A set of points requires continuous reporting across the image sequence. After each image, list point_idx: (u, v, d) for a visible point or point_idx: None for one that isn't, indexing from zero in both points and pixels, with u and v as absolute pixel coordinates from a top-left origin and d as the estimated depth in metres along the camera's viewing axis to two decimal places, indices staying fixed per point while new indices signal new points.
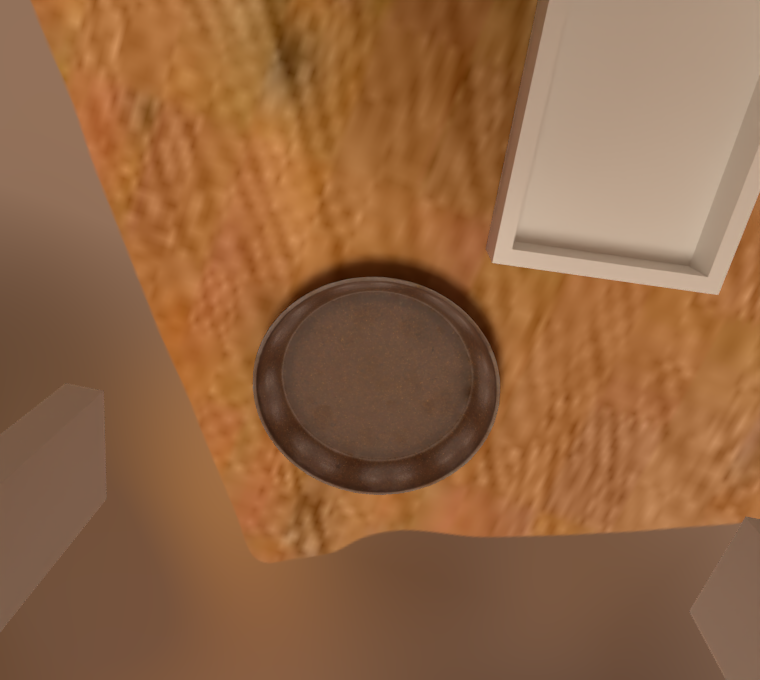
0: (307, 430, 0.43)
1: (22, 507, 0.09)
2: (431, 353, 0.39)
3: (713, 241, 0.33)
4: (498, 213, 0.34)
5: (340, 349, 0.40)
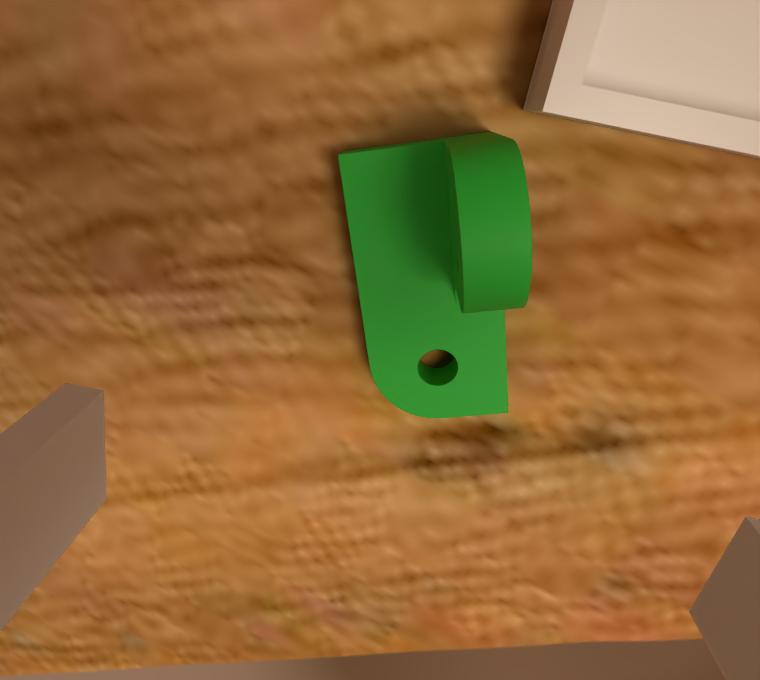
0: None
1: (22, 507, 0.09)
2: None
3: None
4: None
5: None
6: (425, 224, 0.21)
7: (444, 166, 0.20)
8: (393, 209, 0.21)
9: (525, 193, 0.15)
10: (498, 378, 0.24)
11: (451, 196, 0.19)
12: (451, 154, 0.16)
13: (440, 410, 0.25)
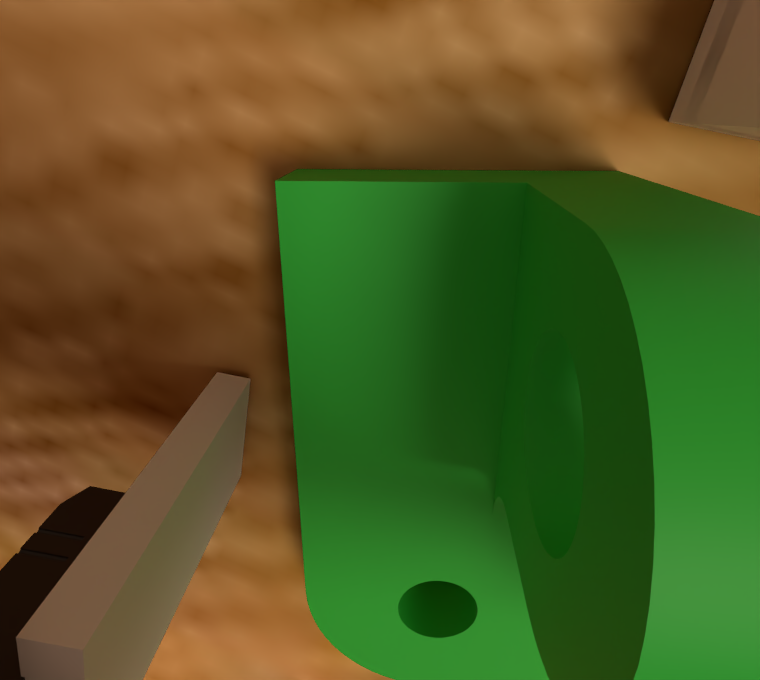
0: None
1: (209, 476, 0.10)
2: None
3: None
4: None
5: None
6: (455, 355, 0.10)
7: (520, 241, 0.09)
8: (389, 316, 0.09)
9: None
10: None
11: (545, 335, 0.07)
12: (613, 259, 0.05)
13: (431, 674, 0.13)
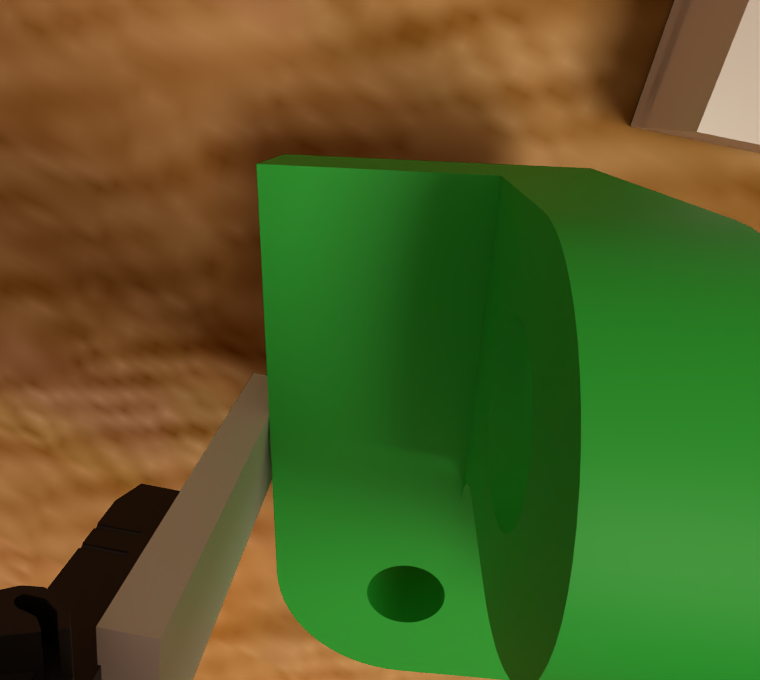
0: None
1: (252, 474, 0.10)
2: None
3: None
4: None
5: None
6: (428, 343, 0.10)
7: (493, 232, 0.09)
8: (365, 302, 0.10)
9: None
10: None
11: (508, 321, 0.07)
12: (561, 242, 0.05)
13: (398, 658, 0.13)
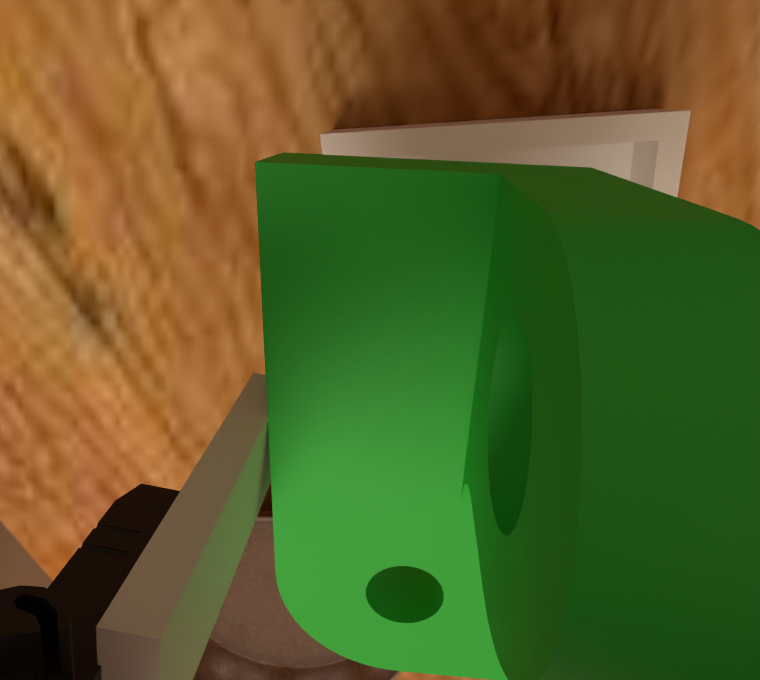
0: (228, 648, 0.39)
1: (252, 474, 0.10)
2: None
3: None
4: None
5: (236, 571, 0.36)
6: (428, 342, 0.10)
7: (493, 231, 0.09)
8: (364, 302, 0.10)
9: None
10: None
11: (508, 321, 0.07)
12: (562, 240, 0.05)
13: (397, 659, 0.13)
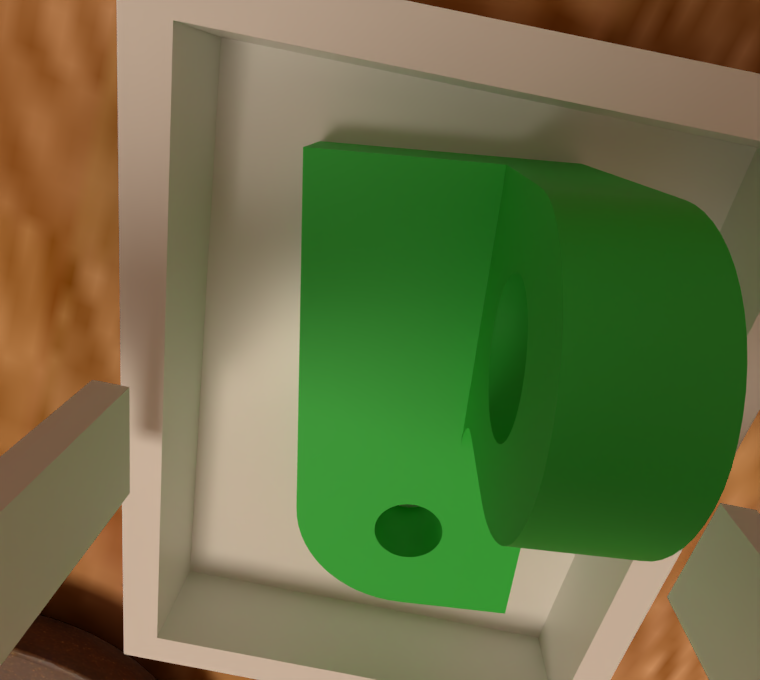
0: None
1: (56, 499, 0.09)
2: None
3: (570, 642, 0.16)
4: None
5: None
6: (439, 305, 0.12)
7: (498, 212, 0.11)
8: (387, 268, 0.11)
9: (740, 357, 0.06)
10: (501, 565, 0.15)
11: (509, 281, 0.09)
12: (553, 208, 0.07)
13: (398, 591, 0.15)
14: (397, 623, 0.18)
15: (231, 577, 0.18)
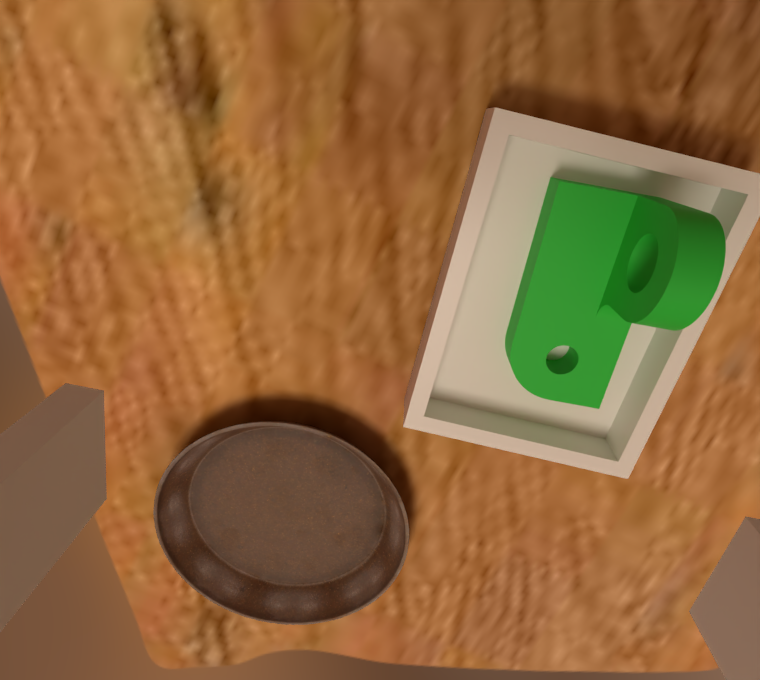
0: (214, 550, 0.41)
1: (22, 507, 0.09)
2: (344, 490, 0.38)
3: (626, 426, 0.32)
4: (414, 375, 0.33)
5: (250, 478, 0.38)
6: (599, 250, 0.28)
7: (632, 213, 0.27)
8: (581, 233, 0.28)
9: (723, 253, 0.22)
10: (602, 380, 0.31)
11: (642, 238, 0.26)
12: (672, 211, 0.23)
13: (549, 393, 0.31)
14: (533, 425, 0.34)
15: (445, 400, 0.34)
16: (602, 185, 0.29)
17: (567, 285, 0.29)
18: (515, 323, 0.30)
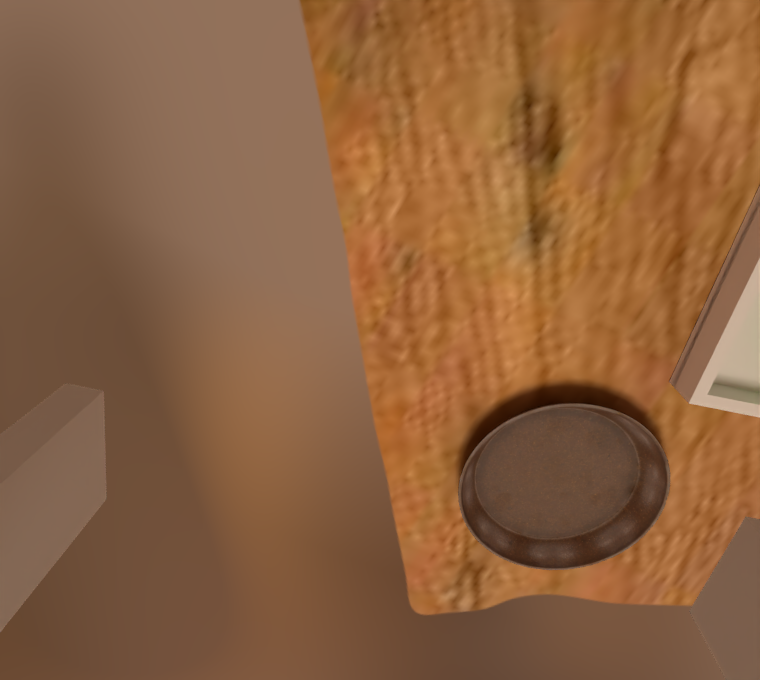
0: (487, 511, 0.50)
1: (22, 507, 0.09)
2: (607, 458, 0.47)
3: None
4: (694, 362, 0.41)
5: (530, 450, 0.47)
6: None
7: None
8: None
9: None
10: None
11: None
12: None
13: None
14: None
15: None
16: None
17: None
18: None
